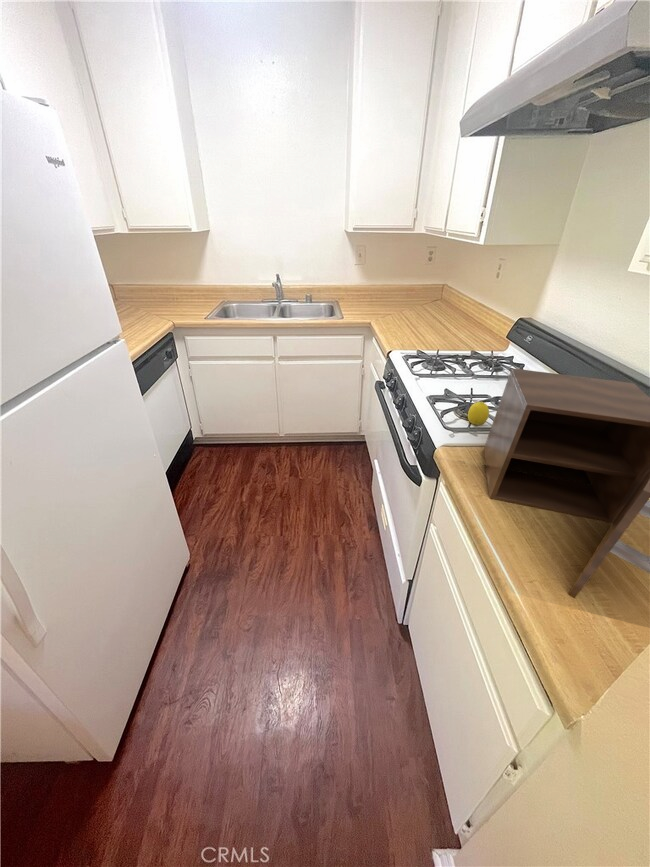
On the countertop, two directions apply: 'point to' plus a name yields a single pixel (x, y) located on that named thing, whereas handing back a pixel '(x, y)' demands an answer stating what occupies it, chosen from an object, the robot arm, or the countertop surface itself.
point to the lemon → (478, 413)
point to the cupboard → (569, 442)
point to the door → (611, 539)
